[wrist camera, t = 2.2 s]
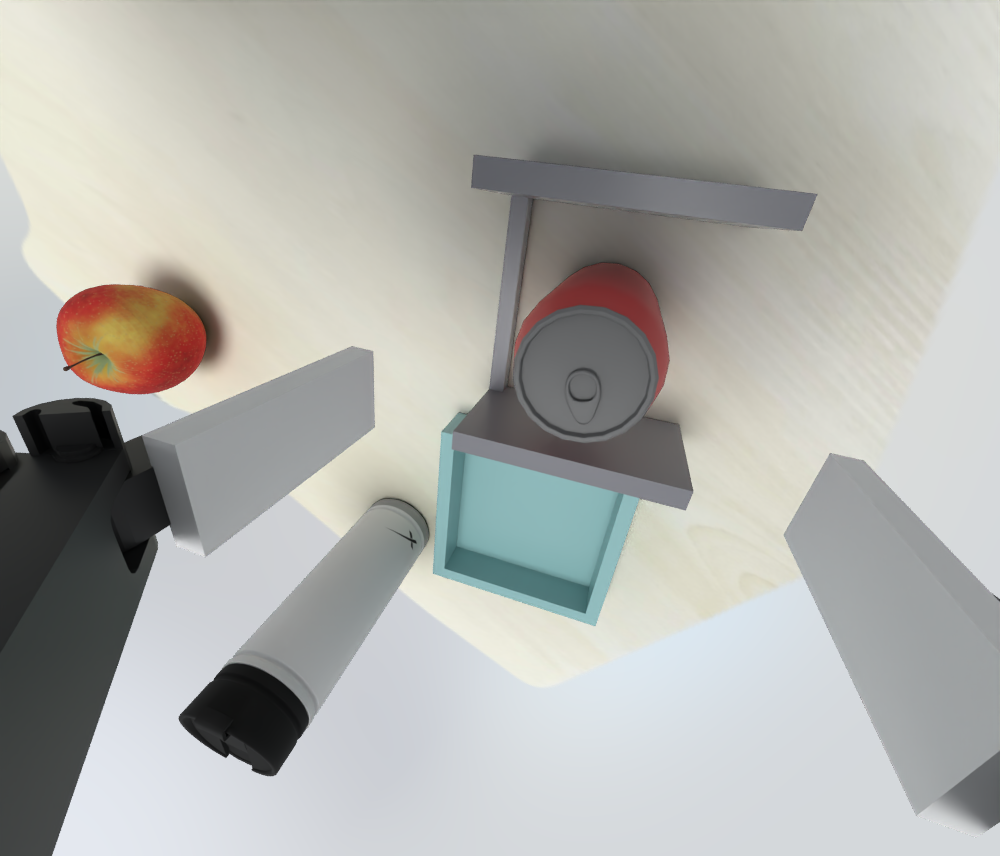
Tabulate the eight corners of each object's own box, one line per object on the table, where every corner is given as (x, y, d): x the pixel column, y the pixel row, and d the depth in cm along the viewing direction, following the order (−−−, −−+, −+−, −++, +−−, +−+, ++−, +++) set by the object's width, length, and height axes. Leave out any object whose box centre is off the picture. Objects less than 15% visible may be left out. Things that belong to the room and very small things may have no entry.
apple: (170, 255, 34) (11, 267, 25) (245, 334, 35) (118, 372, 27) (140, 318, 38) (-8, 348, 29) (208, 388, 39) (86, 435, 30)
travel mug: (433, 506, 37) (260, 750, 20) (426, 559, 41) (273, 809, 23) (370, 485, 39) (155, 700, 21) (369, 538, 42) (181, 763, 24)
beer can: (553, 368, 29) (508, 451, 19) (548, 266, 26) (490, 297, 16) (656, 366, 27) (668, 458, 17) (661, 256, 24) (680, 283, 14)
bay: (519, 173, 24) (473, 154, 17) (760, 202, 22) (817, 193, 15) (492, 398, 31) (451, 449, 24) (673, 440, 29) (685, 510, 22)
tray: (459, 412, 32) (441, 431, 30) (643, 457, 30) (644, 483, 27) (447, 546, 39) (432, 573, 36) (598, 593, 36) (595, 626, 33)
